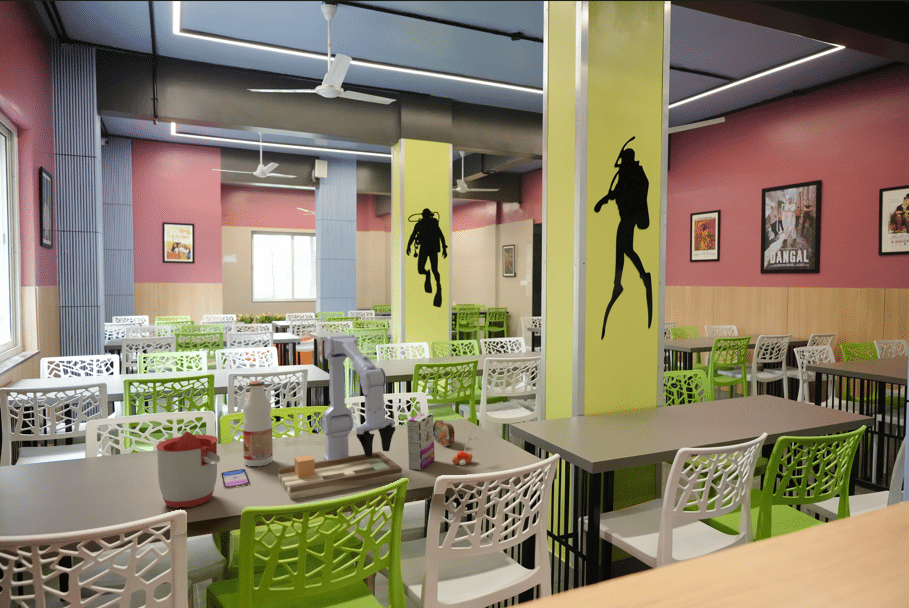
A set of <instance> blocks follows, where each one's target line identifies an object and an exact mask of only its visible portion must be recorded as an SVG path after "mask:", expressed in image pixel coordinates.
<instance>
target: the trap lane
mask: <svg viewBox="0 0 909 608" xmlns="http://www.w3.org/2000/svg"><path fill="white" fill-rule="evenodd" d="M349 456H350V455H349ZM314 467H315V475H313V476H307V477H301V478H298V477H297V476H296V474H295V464H294V465H289V466H288V465H287V466H281V467H278V468H277V473H278V476H277V477H278V481H279V482H280V484H281V486H282V487H283V489H284V491H285V492H286V494H287V495H288V497H289V500H291V499H292V500H296V499H295V498H297V499H301V498H300V497H302V498H307V497H306V496H308V497H312V496H318V495H322V494H329V493H333V492H339V491H343V490H349V489H354V488H360V487H361V488H362V487H365V486H371V485H376V484H380V483H388V482H391V481H397V480H401V479H400V478H403V477H402V476H403V475H402V467H401V466H400V465H399V464H397V463H396V462H394V461H393V460H392V459H391V458H389V457H388V456H386V455H385V454H384V453H382V452H381V451H376V452H372V457H366V456H365V453H363V454H357V455H351V456H350V457H343V458H337V459H331V460H326V459H324V460H320V461H314Z"/></svg>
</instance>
